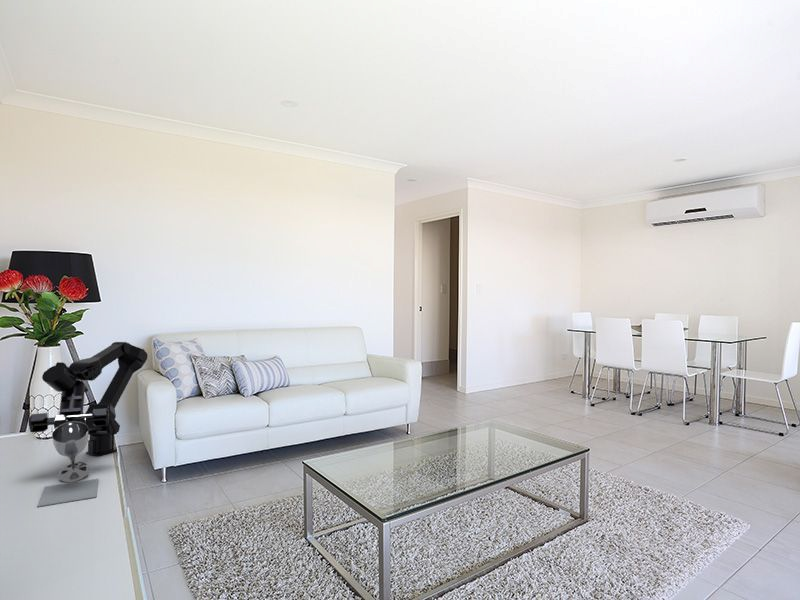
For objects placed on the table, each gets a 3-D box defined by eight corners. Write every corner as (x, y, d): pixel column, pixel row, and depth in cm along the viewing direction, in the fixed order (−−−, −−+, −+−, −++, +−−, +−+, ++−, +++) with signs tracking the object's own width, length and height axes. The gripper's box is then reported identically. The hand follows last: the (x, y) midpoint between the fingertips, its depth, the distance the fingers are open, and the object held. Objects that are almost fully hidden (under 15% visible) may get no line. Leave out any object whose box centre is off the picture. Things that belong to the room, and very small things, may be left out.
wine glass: (50, 472, 132) (45, 431, 125) (80, 456, 138) (77, 417, 132) (66, 488, 129) (62, 447, 122) (96, 471, 135) (94, 431, 129)
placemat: (45, 487, 127) (45, 486, 127) (98, 479, 133) (98, 478, 133) (37, 507, 115) (37, 506, 115) (96, 497, 121) (96, 496, 121)
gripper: (109, 410, 151) (107, 456, 142) (35, 416, 142) (28, 465, 132) (109, 390, 144) (107, 437, 135) (32, 395, 135) (24, 445, 126)
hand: (67, 446), depth 132 cm, fingers closed
